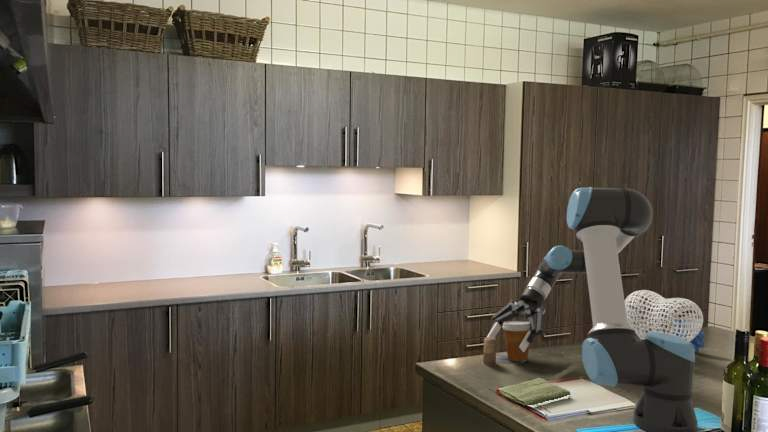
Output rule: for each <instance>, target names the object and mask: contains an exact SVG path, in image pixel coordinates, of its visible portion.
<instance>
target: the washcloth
mask: <svg viewBox="0 0 768 432" xmlns="http://www.w3.org/2000/svg"><path fill="white" fill-rule="evenodd" d="M497 393H498V394H499V395H500V396H502V397H505V398H507V399H509V400H511V401H513V402H516V403H519V404H521V405H523V406H525V405H535V404H538V403H543V402H545V401H549V400H554V399H558V398H561V397H564V396H567V395H570V396H571V392H570V391H569V390H568V389H566V388H563V387H560V386H558V385H557V384H553V383H551V382H549V381H547V380H546V379H544V378H541V377H537V378H534V379H532V380H526V381H524V382H523V381H522V382H519V383H516V384H513V385H512V384H511V385H506V386H504V387H502V388H501V389H499V391H497Z"/></svg>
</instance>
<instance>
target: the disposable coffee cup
mask: <svg viewBox="0 0 768 432" xmlns="http://www.w3.org/2000/svg"><path fill="white" fill-rule="evenodd" d="M501 328H502V330H503V334H504V341H505V347H506V354H508V360H511V361H525V362H526V361H528V360H529V348H530V344H529V345H528V347H527V348H526V350H525V352H522V350H521V349H520V348H519V346H520V344H521V342H522V341H523V339H524V337H525V336H526V334H527V332H528V331H531V330H530V329H531V327H530V323H529V321H526V320H524V321H523V320H509V321H507V322H504V323H503V324H502V326H501Z"/></svg>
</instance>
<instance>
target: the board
mask: <svg viewBox="0 0 768 432" xmlns="http://www.w3.org/2000/svg"><path fill="white" fill-rule="evenodd" d="M498 363H501V364H506V365H519V364H520V365H521V364H523V363H526V361H511V360H508V354H507V353H496V364H495V365H485V364H483V361H481V364H482V365H483V366H487V367H495V366H497V365H498Z"/></svg>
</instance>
